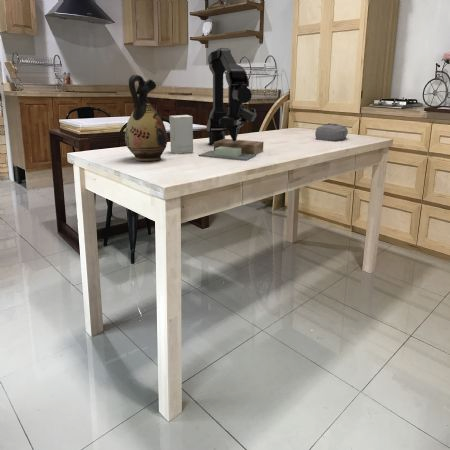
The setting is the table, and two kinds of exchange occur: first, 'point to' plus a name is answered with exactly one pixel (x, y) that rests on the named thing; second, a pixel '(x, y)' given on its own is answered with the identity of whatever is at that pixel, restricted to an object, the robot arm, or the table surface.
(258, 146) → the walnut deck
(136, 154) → the ceramic jug
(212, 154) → the charcoal mat
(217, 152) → the sage tile
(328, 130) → the soft grey pack
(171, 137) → the skincare box
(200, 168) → the table surface
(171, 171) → the table surface
